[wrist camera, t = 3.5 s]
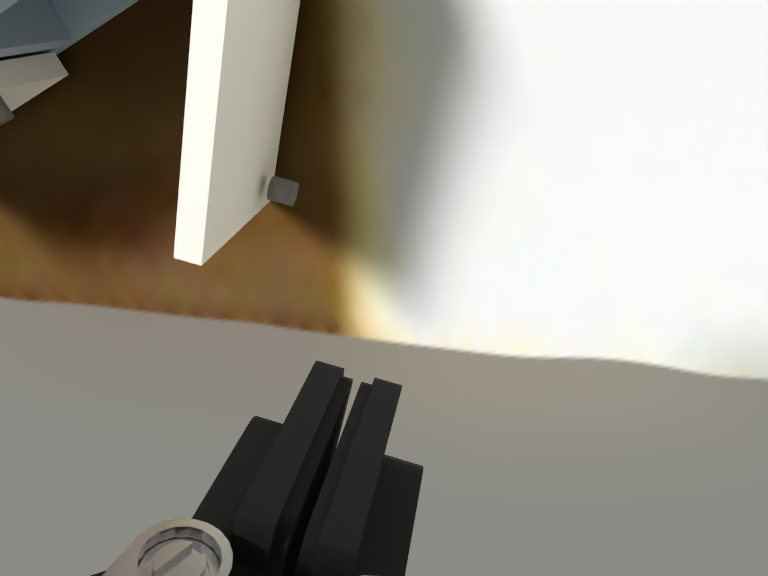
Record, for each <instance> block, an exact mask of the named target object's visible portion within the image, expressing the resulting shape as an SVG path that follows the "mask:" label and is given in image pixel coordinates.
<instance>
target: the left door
mask: <svg viewBox="0 0 768 576" xmlns="http://www.w3.org/2000/svg"><path fill="white" fill-rule="evenodd" d="M299 6H300V0H193V9H192V22H191V35H190V49H189V62H188V75H187V88H186V101H185V115H184V128H183V141H182V154H181V167H180V181H179V194H178V207H177V220H176V233H175V247H174V258H176V259H180V260H183V261H187V262H190V263H194V264H197V265H201V266H202V265H203V264H204V263H205V262H206V261H207V260H208V259H209V258H210V257H211V256H212V255H213V254H214V253H215V252H217V251H218V250H219V249H220V248H221V247H222V246H223V245H224V244H225V243H226V242H227V241H228V240H229V239H230V238H231V237H232V236H234V235H235V234H236V233H237V232H238V231H239V230H240V229H241V228H242V227H243V226H244V225H245V224H246V223H247V222H248V221H249V220H251V219H252V218H253V217H254V216H255V215H256V214H257V213H258V212H259V211H260V210H261V209H262V208H263V207H264V206H265V205H266V204H267V203H269V202H270V201H275V202H278V203H282V204H286V205H289V206H293V205H294V203H295V201H296V198H297V194H298V189H299V183H298V182H295V181H291V180H288V179H284V178H280V177H277V176H275V169H276V162H277V155H278V149H279V142H280V135H281V128H282V122H283V115H284V108H285V101H286V94H287V88H288V81H289V74H290V67H291V61H292V54H293V47H294V40H295V33H296V27H297V20H298V13H299Z"/></svg>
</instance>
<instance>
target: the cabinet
mask: <svg viewBox="0 0 768 576" xmlns="http://www.w3.org/2000/svg"><path fill="white" fill-rule="evenodd" d="M137 1H139V0H0V126H1V125H3V124H5V123H7V122H9V121H10V120H12V119H13V118H15V116H14V115H13V113H12V112H11V111H13V110H15V109H16V108H18V107H19V106H21V105H22V104H24V103H25V102H27V101H29V100H30V99H32V98H33V97H35V96H36V95H38V94H39V93H41V92H43V91H44V90H46V89H47V88H49V87H50V86H52V85H53V84H55V83H56V82H58V81H60V80H61V79H63V78H64V77H66V76H67V75H69V74H68V73H67V71H66V69H65V68H64V66H63V65H62V63H61V62H60V60H59V59H58V57H57V56H56V55H57V54H59V53H60V52H62V51H63V50H65V49H66V48H68V47H70V46H71V45H73V44H74V43H76V42H77V41H79V40H80V39H82V38H83V37H85V36H86V35H88V34H89V33H91V32H92V31H94V30H95V29H97V28H98V27H100V26H101V25H103V24H104V23H106V22H107V21H109V20H110V19H112V18H113V17H115V16H116V15H118V14H119V13H121V12H122V11H124V10H125V9H127V8H128V7H130V6H131V5H133V4H134V3H136V2H137Z"/></svg>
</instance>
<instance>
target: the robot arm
mask: <svg viewBox="0 0 768 576" xmlns="http://www.w3.org/2000/svg"><path fill="white" fill-rule="evenodd" d="M343 375H344V368H340V367H337V366H334V365H330V364H327V363H323V362H320V361H316V362H315V364H314V365H313V367H312V369H311V371H310V373H309V375H308V377H307V379H306V381H305V383H304V385H303V387H302V388H301V390H300V392H299V394H298V396H297V398H296V400H295V402H294V404H293V406H292V408H291V410H290V412H289V413H288V415H287V417H286V419H285V421H284V423H283V424H281V423H278V422H274V421H271V420H268V419H264V418H261V417H258V416H255V417H253V418H252V420H251V421H250V423H249V424H248V426H247V427H246V429H245V431H244V432H243V434H242V436H241V437H240V439H239V441H238V442H237V444H236V446H235V447H234V449H233V451H232V452H231V454H230V456H229V457H228V459H227V461H226V462H225V464H224V466H223V468H222V470H221V471H220V472H219V474H218V476H217V477H216V479H215V481H214V482H213V484H212V486H211V487H210V489H209V491H208V493H207V494H206V496H205V497H204V499H203V501H202V502H201V504H200V506H199V507H198V509H197V511H196V512H195V514H194V516H193V517H192V519H185V518H178V519H172V520H167V521H163V522H161V523H158V524H156V525H154V526H152V527H150V528H148V529H147V530H146V531H144V532H143V533H142V534H141V535H139V536H138V537H137V538H136V539H135V540H134V541H133V542H132V543H131V544H130V546H129V547H128V548H127V549H126V550H125V551H124V552H123V553H122V554H121V555H120V557H119V558H118V559H117V560H116V561H115V562H114V563H113V564H112V565H111V566H110V567H109V568H108V569H107V570H106V571H103V572H101V573H98V574H94V575H91V576H405V571H406V565H407V560H408V554H409V548H410V543H411V537H412V531H413V525H414V519H415V514H416V508H417V503H418V497H419V490H420V485H421V480H422V474H423V466H421V465H418V464H414V463H411V462H407V461H404V460H401V459H398V458H394V457H391V456H387V455H384V453H385V449H386V445H387V441H388V437H389V433H390V430H391V426H392V422H393V419H394V415H395V411H396V408H397V404H398V400H399V396H400V393H401V388H402V385H399V384H395V383H392V382H388V381H384V380H381V379H378V378H374V381H373V384H372V385H371V384H368V383H364V382H361V385H360V387H359V390H358V392H357V395H356V398H355V400H354V403H353V406H352V409H351V411H350V414H349V416H348V419H347V422H346V424H345V427H344V430H343V432H342V435H341V438H340V441H339V443H338V439H339V435H340V431H341V427H342V423H343V419H344V415H345V411H346V407H347V403H348V399H349V395H350V390H351V387H352V382H353V379H351V378H347V377H343ZM337 443H338V446H337ZM336 447H337V449H336Z"/></svg>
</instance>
